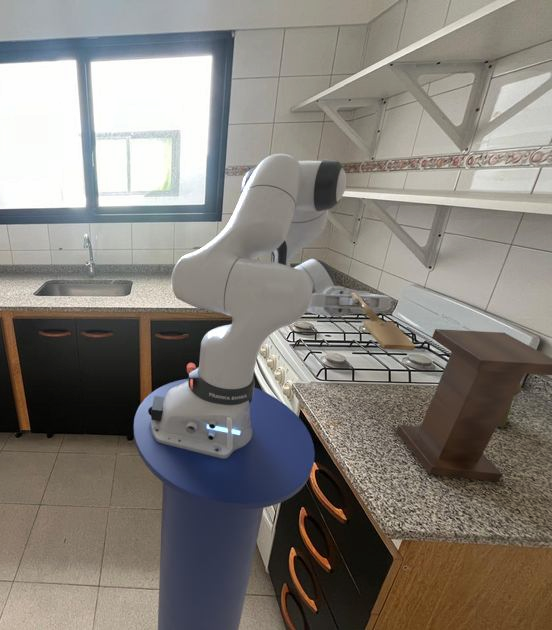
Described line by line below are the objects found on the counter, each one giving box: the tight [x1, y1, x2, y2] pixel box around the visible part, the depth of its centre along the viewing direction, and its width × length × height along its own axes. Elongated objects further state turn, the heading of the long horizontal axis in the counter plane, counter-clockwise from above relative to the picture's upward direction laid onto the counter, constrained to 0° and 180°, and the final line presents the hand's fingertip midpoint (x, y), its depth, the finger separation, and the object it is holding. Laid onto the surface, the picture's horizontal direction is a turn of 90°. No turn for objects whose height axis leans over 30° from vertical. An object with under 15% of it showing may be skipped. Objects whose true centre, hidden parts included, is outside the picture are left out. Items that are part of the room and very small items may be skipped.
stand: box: [395, 328, 552, 482], centre depth 67 cm, size 12×12×26 cm
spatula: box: [350, 292, 416, 351], centre depth 81 cm, size 6×23×2 cm, turn 174°
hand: (362, 301), depth 86 cm, fingers closed on spatula, 1 cm apart
